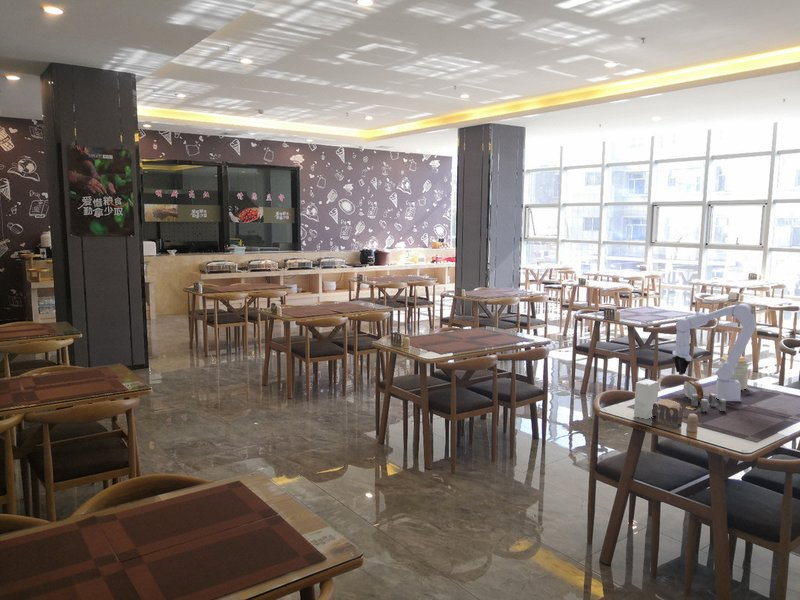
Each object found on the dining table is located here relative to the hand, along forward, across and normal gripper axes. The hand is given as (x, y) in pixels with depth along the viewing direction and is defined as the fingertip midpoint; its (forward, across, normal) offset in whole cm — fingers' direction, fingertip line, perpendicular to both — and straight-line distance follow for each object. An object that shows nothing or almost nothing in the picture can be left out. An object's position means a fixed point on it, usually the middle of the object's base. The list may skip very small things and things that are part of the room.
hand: (680, 372), depth 291 cm
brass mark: (+9, +26, -8) cm, 28 cm away
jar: (+10, -8, +30) cm, 33 cm away
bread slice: (+10, +12, 0) cm, 15 cm away
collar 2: (+9, +30, 0) cm, 31 cm away
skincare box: (+10, +36, -32) cm, 49 cm away
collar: (+9, +22, 0) cm, 23 cm away
